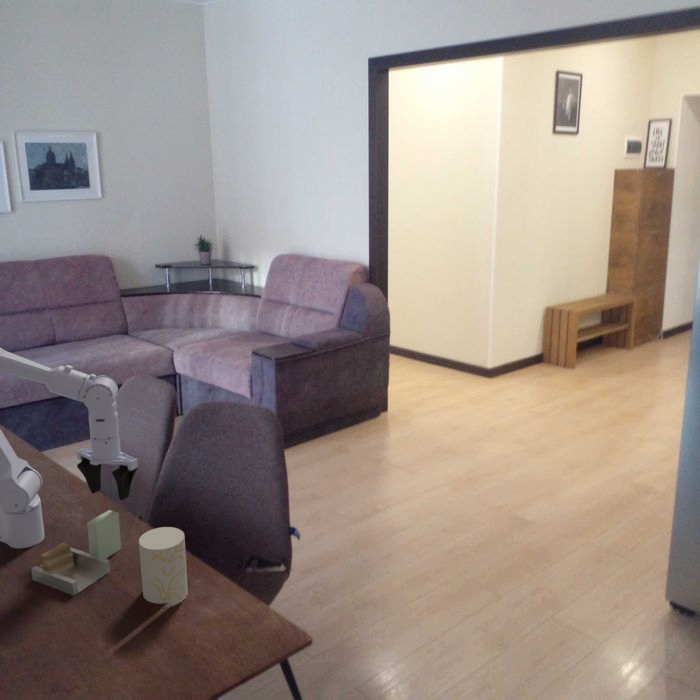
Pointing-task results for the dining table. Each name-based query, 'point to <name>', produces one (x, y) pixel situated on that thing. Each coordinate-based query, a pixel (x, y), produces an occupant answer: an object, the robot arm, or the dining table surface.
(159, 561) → the cup
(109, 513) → the sage green tall pillar
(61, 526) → the dining table surface
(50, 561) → the offcut stack
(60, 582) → the rack
